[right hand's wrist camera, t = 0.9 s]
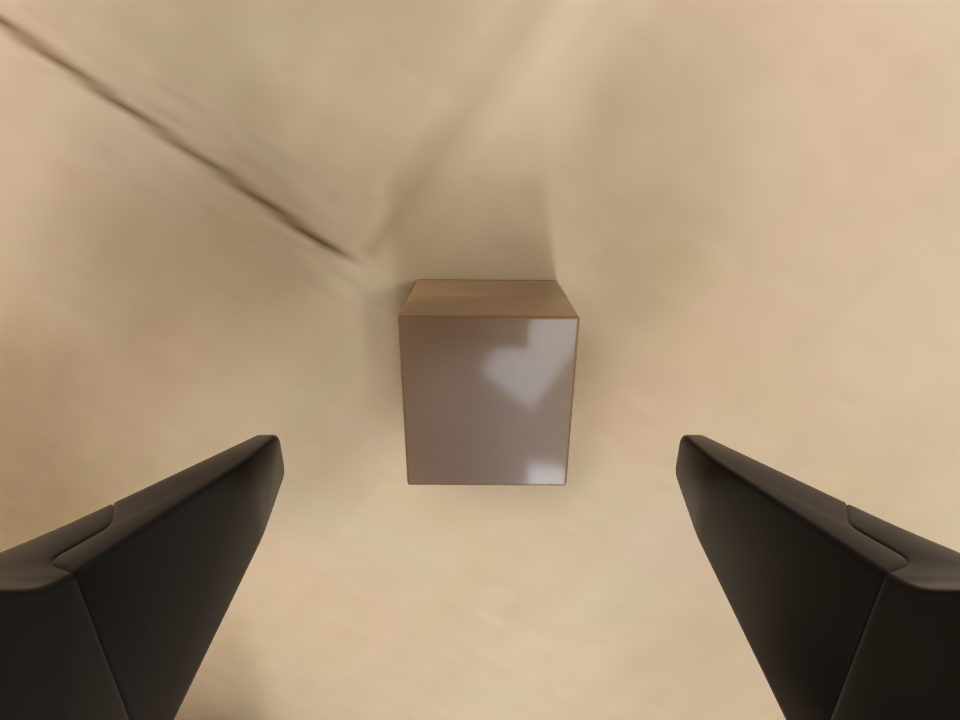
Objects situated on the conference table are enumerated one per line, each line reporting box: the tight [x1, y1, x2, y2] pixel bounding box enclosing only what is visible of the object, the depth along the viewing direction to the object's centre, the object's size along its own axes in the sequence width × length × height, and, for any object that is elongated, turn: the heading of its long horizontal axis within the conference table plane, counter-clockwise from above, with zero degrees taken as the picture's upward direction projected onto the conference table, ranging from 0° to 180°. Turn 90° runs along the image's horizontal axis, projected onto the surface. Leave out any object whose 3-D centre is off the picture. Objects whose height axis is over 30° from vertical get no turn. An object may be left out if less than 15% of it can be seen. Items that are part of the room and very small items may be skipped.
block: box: [398, 280, 579, 485], centre depth 15 cm, size 5×5×4 cm
